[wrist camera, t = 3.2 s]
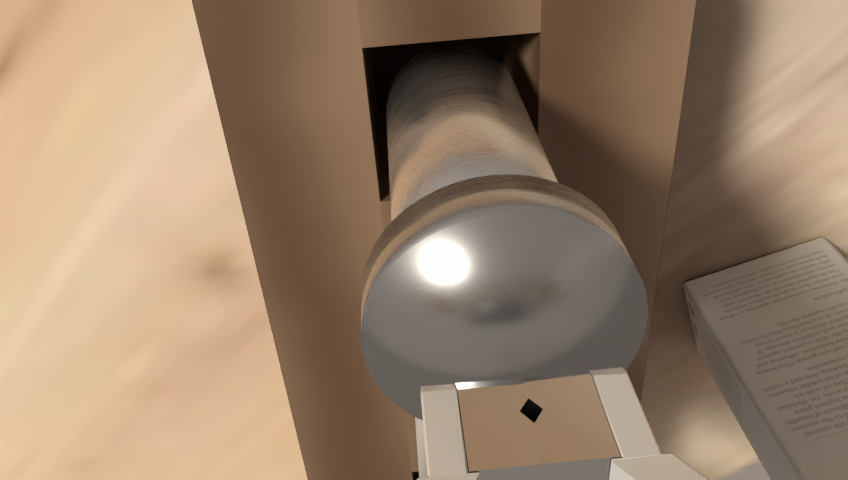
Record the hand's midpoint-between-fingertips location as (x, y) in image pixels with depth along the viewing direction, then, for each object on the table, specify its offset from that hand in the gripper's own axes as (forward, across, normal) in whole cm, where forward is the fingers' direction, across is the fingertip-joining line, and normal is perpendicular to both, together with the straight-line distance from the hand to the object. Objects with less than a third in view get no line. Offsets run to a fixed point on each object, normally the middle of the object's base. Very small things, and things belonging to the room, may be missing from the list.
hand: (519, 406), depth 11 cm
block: (+16, 0, +8) cm, 18 cm away
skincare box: (+16, -13, +12) cm, 24 cm away
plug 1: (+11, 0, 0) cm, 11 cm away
